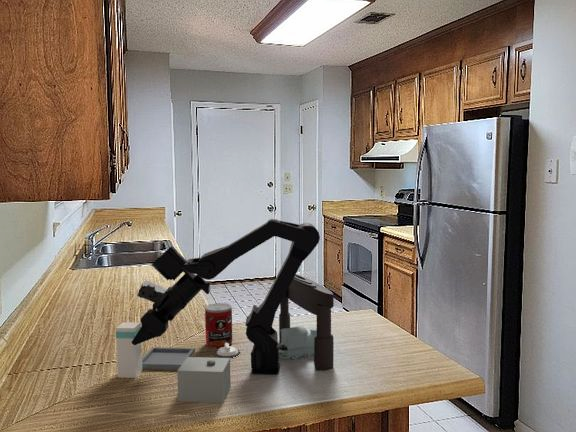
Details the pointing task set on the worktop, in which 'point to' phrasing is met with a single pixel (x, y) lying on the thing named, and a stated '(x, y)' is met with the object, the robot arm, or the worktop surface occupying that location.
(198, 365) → the unit
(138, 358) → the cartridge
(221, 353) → the stove knob
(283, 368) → the worktop surface
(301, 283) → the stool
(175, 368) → the tray
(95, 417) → the worktop surface
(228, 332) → the canned food
